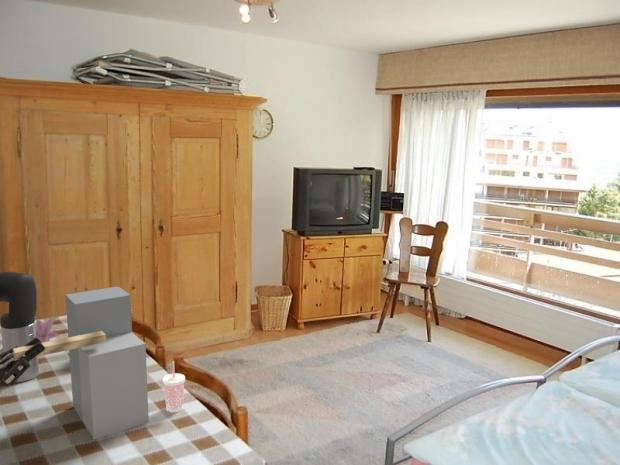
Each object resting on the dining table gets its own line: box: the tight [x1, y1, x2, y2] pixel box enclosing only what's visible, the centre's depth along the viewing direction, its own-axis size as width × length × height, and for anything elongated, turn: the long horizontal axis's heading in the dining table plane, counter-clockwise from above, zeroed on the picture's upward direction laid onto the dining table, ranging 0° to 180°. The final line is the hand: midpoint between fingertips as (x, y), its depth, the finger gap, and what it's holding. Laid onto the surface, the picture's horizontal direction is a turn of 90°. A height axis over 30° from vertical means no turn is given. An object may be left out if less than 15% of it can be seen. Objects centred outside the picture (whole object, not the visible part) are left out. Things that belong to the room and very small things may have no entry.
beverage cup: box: [162, 360, 186, 413], centre depth 147 cm, size 6×6×14 cm
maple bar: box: [13, 331, 106, 358], centre depth 127 cm, size 20×3×2 cm, turn 127°
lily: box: [35, 317, 59, 343], centre depth 189 cm, size 12×12×10 cm
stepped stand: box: [65, 286, 150, 440], centre depth 141 cm, size 14×20×32 cm
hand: (40, 342), depth 125 cm, fingers closed on maple bar, 3 cm apart
